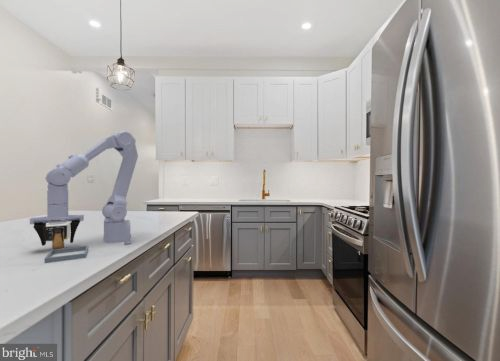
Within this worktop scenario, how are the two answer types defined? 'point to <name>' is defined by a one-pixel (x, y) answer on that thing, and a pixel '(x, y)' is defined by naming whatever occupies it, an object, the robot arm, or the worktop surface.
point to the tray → (67, 257)
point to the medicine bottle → (53, 225)
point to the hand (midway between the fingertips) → (58, 243)
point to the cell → (58, 238)
